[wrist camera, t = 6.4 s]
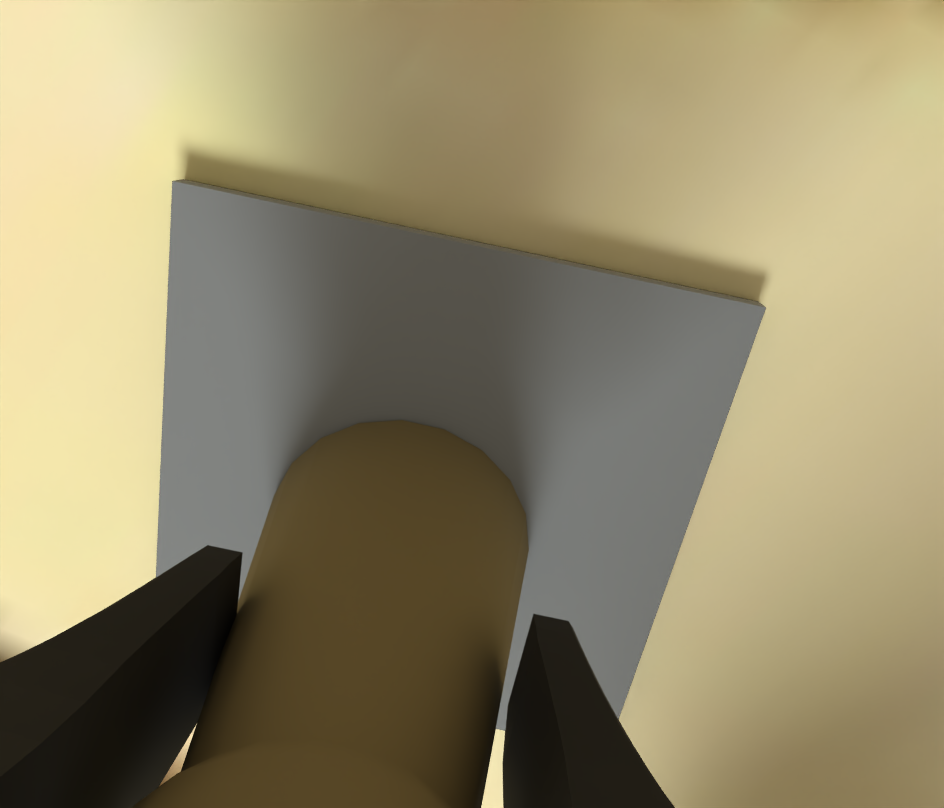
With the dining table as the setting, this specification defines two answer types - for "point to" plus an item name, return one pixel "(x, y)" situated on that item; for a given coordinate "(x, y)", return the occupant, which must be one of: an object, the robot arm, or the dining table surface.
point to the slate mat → (447, 393)
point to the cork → (366, 633)
